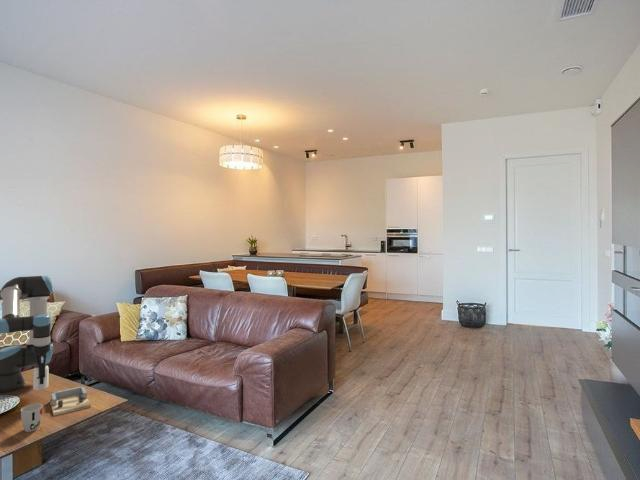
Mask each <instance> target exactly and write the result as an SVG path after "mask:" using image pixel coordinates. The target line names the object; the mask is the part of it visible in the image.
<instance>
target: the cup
mask: <svg viewBox="0 0 640 480" xmlns="http://www.w3.org/2000/svg"><path fill="white" fill-rule="evenodd" d="M43 405H44V404H42V403H34V404H33V403H32V404H29V405H26V406H23V407H22V408H21V409H20V415H21V416H20V419H21V424H22V427H23V430H24V432H26V433H27V432H28V433H29V432H34V431H36V430H38V429H39V427H40V424H41V422H42V416H43V408H44V407H43Z"/></svg>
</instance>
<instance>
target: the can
mask: <svg viewBox="0 0 640 480" xmlns="http://www.w3.org/2000/svg"><path fill="white" fill-rule="evenodd" d="M49 370H50V367H49V365H48V363H47V364H45V389H43V390H42V391H44V390H46V389H47V388H49V374H50V373H49ZM32 375H33V376H32V377H33V379H32V381H33V385H32V386H33V387H32V388H33V390H34V391H38V392H39V390H38V379H37V377H39V365H36V366H34V368H33V374H32Z"/></svg>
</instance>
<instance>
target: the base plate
mask: <svg viewBox="0 0 640 480" xmlns="http://www.w3.org/2000/svg"><path fill="white" fill-rule="evenodd" d="M56 399H57V405H53V404H52V400H51V398H50V399H49V404H50V407H51V412H52V415H53V417H55V416H59V415H64V414H67V413H71V412H76V411H79V410H84V409H89V408H91V406H92V405H91V401H90V399H89V398H88V397H87V398H85V399H84V396H82V394H81V393H78V394H74V395H69V396H64V397H60V398H56Z"/></svg>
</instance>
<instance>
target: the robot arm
mask: <svg viewBox="0 0 640 480" xmlns="http://www.w3.org/2000/svg"><path fill="white" fill-rule="evenodd" d="M53 289H54V288H53V281H52V278H51V277H50V276H49V275H36V276H35V275H33V276H31V275H30V276H29V275H28V276H17V277H14V278H12V279H10V280H8V281H7V282H6V283H5V284H3V286H2V287H1V289H0V298H1V299H2V304H1V305H2V306H1V318H0V334H10V333H17V332H25V331H26V332H27V331H28V332H29V340H28V342H27V343H26V345H25V346H26V347H22V345H19V344H18V345H12V346H8V347H4V348H1V349H0V393H1V394H2V393H8V392H13V391H16V390H19V389H22V388H23V387H24V386H25V385H26V380H25V378H24V375H23V373H22V368H23V369H24V368H29V367H35V366H37V365H39V377H37V379H38V391H44V390H46V389H45V364H47V365H48V364H49V363H50V362H51V360H52V356H53V350H54V347H53V346H54V344H53V343H51V336H52V335H51V325H52V324H51V323H52V318H51V315H50V314H48V299H49V298H50V297H51V295H52V294H53V293H54V290H53ZM21 296H23V297H25V296H26V299H27V300H28V301H29V316H21V315H20V314H21V312H20V310H21V309H20V298H21ZM43 389H44V390H43Z"/></svg>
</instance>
